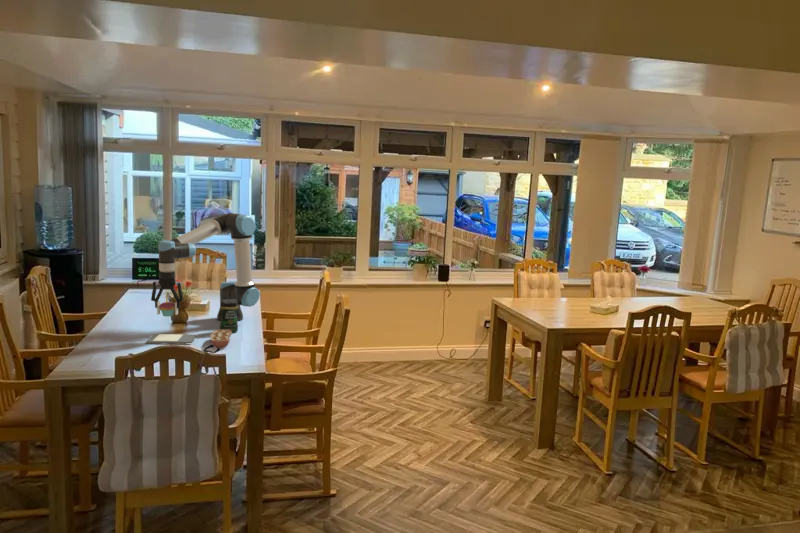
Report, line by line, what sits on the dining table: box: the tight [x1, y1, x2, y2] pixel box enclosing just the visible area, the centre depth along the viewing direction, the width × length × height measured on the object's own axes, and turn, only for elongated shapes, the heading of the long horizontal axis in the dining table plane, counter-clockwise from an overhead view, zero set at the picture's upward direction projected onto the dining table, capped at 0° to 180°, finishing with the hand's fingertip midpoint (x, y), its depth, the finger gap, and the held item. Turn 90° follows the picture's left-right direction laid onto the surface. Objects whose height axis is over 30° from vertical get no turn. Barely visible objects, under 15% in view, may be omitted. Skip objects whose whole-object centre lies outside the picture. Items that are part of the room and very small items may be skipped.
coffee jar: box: [219, 299, 239, 334], centre depth 325 cm, size 10×8×19 cm
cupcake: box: [159, 293, 175, 318], centre depth 303 cm, size 9×8×12 cm
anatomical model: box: [209, 328, 232, 349], centre depth 303 cm, size 23×10×5 cm, turn 12°
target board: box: [145, 333, 198, 345], centre depth 306 cm, size 22×14×2 cm, turn 97°
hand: (167, 314), depth 304 cm, fingers closed on cupcake, 8 cm apart
